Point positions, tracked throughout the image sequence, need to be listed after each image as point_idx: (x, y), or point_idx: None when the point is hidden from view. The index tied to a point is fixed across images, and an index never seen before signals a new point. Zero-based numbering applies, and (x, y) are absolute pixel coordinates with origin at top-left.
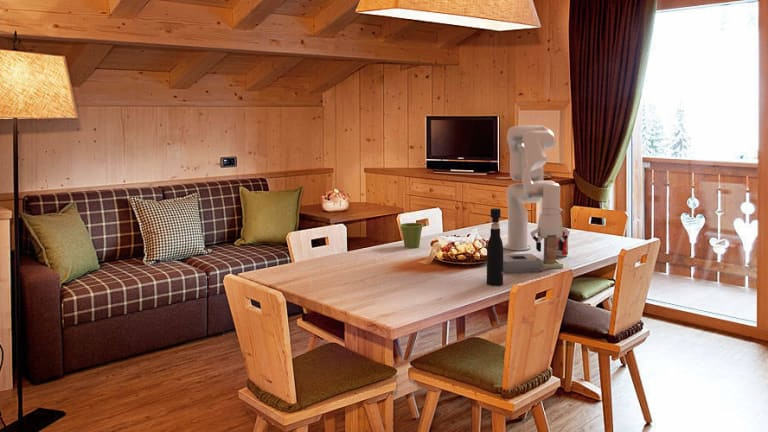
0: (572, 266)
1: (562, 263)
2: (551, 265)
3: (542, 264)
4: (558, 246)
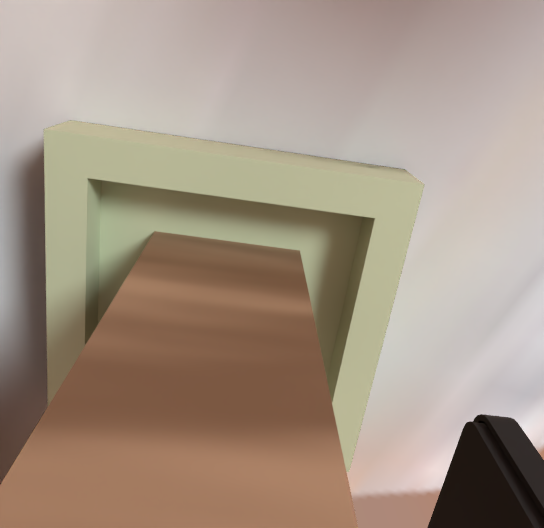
0: (500, 393)
1: (351, 452)
2: None
3: None
4: (501, 473)
